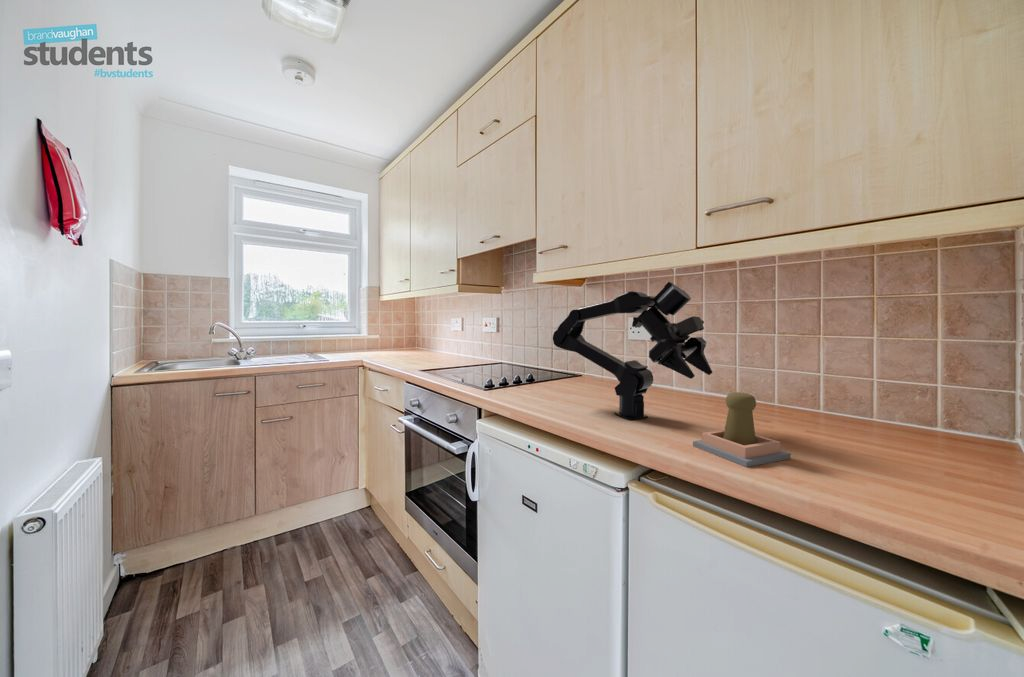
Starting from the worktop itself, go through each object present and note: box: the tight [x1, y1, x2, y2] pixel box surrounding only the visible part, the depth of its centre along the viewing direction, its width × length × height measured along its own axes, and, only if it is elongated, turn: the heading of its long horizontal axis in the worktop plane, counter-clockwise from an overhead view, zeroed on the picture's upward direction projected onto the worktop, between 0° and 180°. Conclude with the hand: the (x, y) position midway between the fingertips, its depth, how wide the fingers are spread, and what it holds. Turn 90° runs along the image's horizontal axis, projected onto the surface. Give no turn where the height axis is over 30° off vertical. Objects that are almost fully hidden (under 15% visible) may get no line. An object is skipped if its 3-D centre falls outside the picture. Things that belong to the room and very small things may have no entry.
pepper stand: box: [692, 429, 792, 468], centre depth 74 cm, size 12×12×3 cm
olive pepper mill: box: [723, 391, 757, 446], centre depth 74 cm, size 6×6×11 cm
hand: (702, 375), depth 87 cm, fingers open, 9 cm apart
